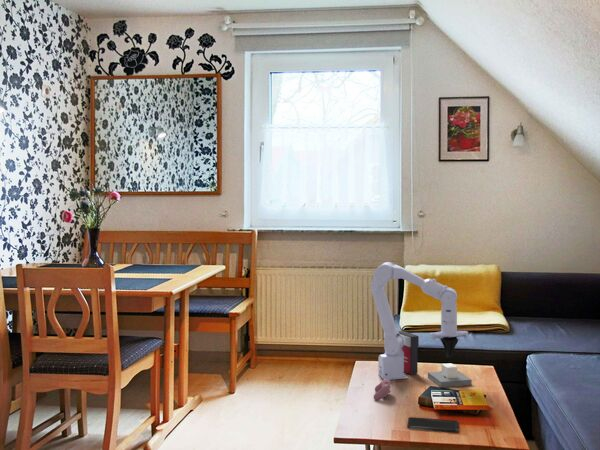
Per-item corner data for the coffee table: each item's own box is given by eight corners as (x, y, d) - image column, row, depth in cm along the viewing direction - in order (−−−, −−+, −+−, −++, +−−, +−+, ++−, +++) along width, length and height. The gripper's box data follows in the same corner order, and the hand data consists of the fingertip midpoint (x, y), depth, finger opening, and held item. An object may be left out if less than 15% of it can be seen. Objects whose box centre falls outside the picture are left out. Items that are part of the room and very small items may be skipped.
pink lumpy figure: (384, 405, 197) (393, 387, 196) (372, 399, 198) (381, 381, 197) (385, 396, 207) (394, 379, 206) (373, 389, 207) (382, 372, 207)
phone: (458, 430, 169) (406, 426, 173) (458, 434, 169) (406, 430, 173) (458, 420, 177) (408, 416, 181) (458, 424, 177) (408, 420, 181)
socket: (440, 387, 210) (440, 379, 210) (427, 377, 222) (427, 369, 222) (471, 384, 212) (471, 376, 212) (457, 375, 224) (457, 367, 224)
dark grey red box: (393, 368, 235) (393, 331, 235) (402, 366, 237) (402, 330, 236) (409, 375, 225) (409, 337, 225) (418, 373, 227) (418, 335, 226)
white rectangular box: (447, 383, 214) (447, 367, 214) (441, 379, 219) (441, 363, 219) (457, 382, 215) (457, 366, 215) (451, 378, 220) (451, 363, 220)
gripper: (435, 324, 211) (435, 360, 212) (472, 322, 214) (472, 358, 214) (427, 320, 218) (427, 355, 219) (463, 318, 221) (463, 353, 221)
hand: (449, 356), depth 217 cm, fingers closed
